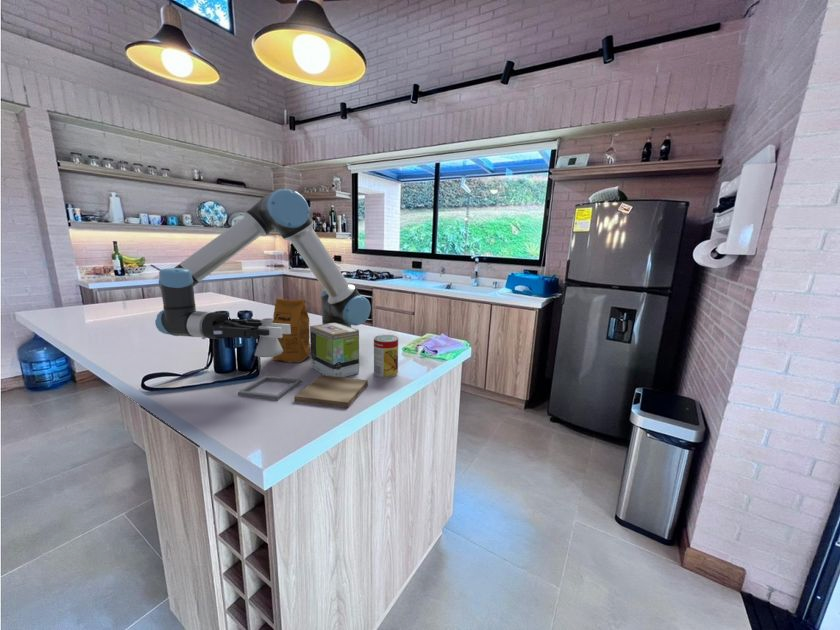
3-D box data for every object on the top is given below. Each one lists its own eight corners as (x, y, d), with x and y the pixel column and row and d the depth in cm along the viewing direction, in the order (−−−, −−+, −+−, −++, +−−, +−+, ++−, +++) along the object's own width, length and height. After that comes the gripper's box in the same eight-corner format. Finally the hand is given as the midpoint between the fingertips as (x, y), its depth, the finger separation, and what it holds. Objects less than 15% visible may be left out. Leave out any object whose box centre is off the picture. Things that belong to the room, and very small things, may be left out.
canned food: (402, 372, 110) (403, 337, 107) (387, 379, 103) (387, 342, 101) (384, 367, 114) (384, 333, 112) (368, 373, 108) (368, 338, 105)
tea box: (360, 373, 108) (360, 329, 105) (333, 381, 101) (331, 334, 98) (336, 361, 119) (335, 321, 116) (310, 367, 112) (308, 325, 109)
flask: (249, 357, 89) (246, 321, 87) (265, 349, 96) (262, 315, 94) (274, 359, 88) (271, 323, 86) (288, 351, 95) (286, 317, 93)
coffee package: (284, 352, 126) (281, 295, 122) (314, 355, 124) (312, 297, 119) (267, 361, 117) (263, 299, 112) (299, 364, 114) (296, 301, 110)
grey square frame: (266, 378, 101) (265, 375, 101) (301, 382, 99) (301, 379, 99) (238, 395, 90) (237, 392, 90) (277, 400, 88) (277, 396, 87)
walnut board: (321, 379, 102) (321, 375, 101) (367, 384, 99) (367, 380, 99) (294, 401, 87) (294, 396, 87) (347, 407, 85) (347, 402, 84)
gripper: (233, 331, 103) (302, 336, 99) (187, 346, 87) (267, 353, 83) (230, 307, 101) (301, 311, 97) (184, 318, 86) (265, 324, 81)
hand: (285, 330), depth 90 cm, fingers closed on flask, 3 cm apart
